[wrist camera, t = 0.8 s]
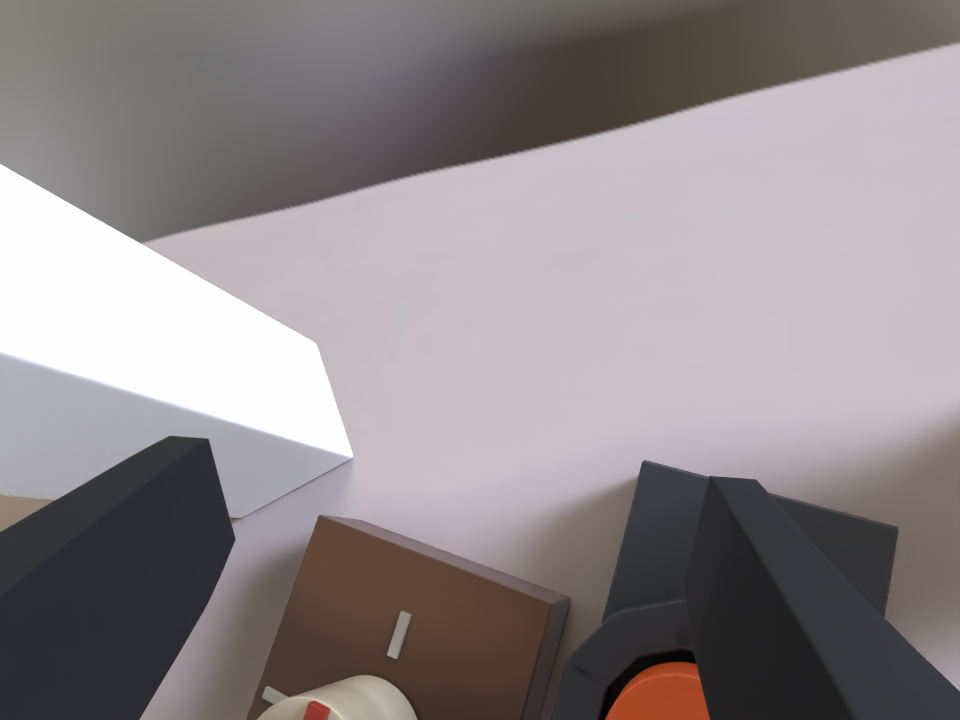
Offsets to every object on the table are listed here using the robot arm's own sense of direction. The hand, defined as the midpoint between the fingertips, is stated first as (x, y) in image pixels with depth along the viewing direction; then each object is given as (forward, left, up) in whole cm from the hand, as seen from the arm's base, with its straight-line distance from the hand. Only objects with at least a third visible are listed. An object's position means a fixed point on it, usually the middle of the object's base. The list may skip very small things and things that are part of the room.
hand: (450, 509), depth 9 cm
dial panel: (-7, +5, -14) cm, 17 cm away
